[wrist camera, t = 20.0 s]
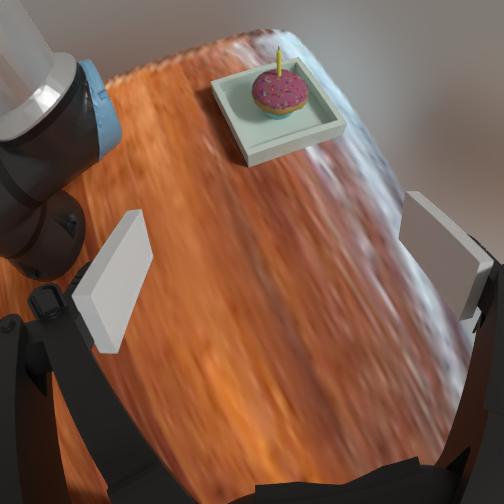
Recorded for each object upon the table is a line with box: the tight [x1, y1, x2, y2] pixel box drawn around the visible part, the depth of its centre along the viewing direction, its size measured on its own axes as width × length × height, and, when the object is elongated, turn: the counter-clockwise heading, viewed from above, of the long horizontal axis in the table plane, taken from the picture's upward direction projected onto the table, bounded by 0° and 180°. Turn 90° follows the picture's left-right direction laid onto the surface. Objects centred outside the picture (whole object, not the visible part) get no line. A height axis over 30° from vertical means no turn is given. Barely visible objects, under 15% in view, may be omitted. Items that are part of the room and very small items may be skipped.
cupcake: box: [251, 46, 309, 120], centre depth 42 cm, size 9×8×12 cm
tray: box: [211, 57, 347, 167], centre depth 47 cm, size 16×16×4 cm
